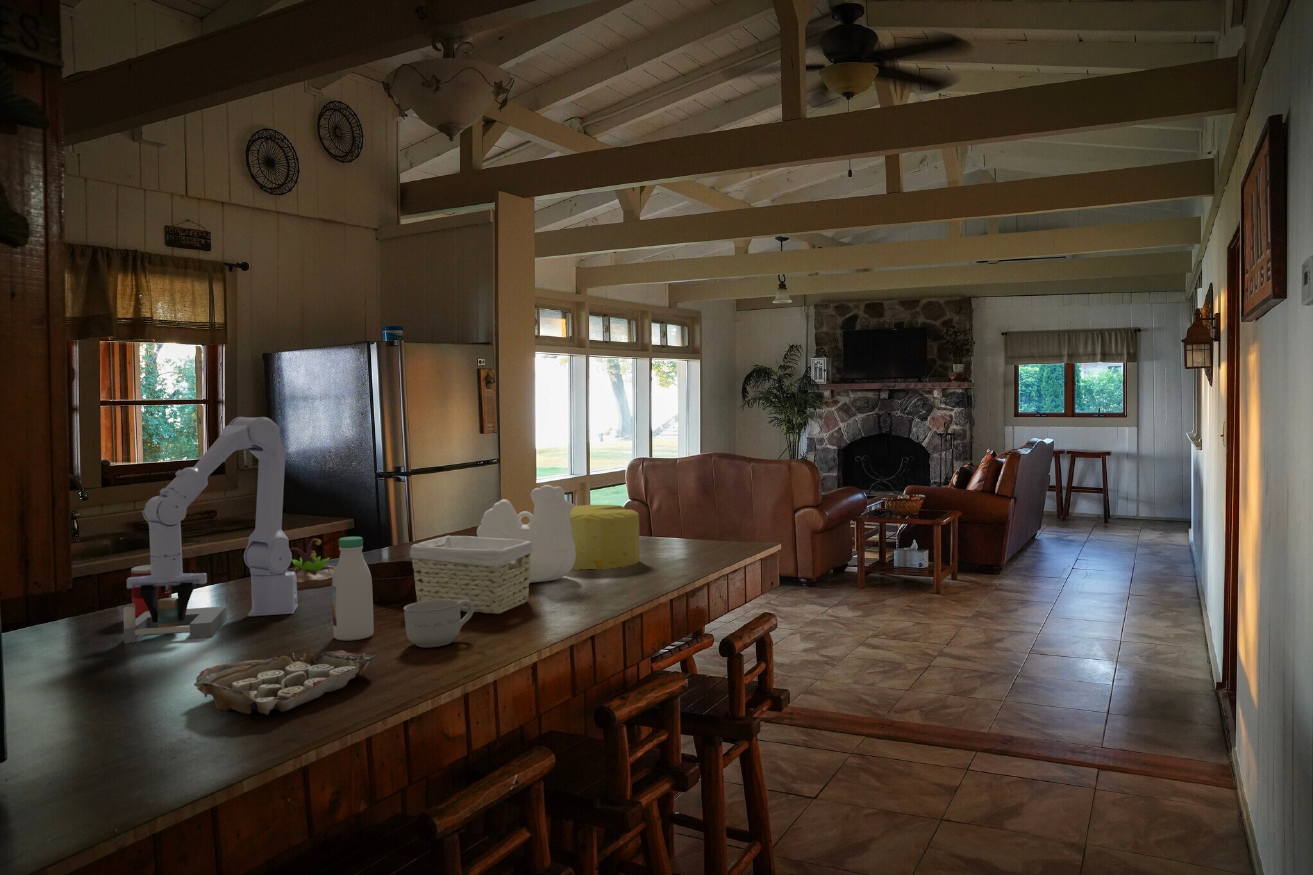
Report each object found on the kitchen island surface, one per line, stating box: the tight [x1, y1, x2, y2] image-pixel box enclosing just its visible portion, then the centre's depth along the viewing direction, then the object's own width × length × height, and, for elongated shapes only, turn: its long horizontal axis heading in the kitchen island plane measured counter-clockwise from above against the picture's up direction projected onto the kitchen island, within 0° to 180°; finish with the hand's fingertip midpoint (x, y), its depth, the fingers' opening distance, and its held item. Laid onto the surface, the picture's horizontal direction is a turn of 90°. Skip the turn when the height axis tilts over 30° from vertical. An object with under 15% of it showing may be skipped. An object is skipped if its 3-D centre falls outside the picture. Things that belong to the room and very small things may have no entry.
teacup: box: [403, 599, 475, 649], centre depth 183 cm, size 14×11×8 cm
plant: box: [287, 538, 336, 590], centre depth 246 cm, size 20×20×11 cm
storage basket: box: [409, 535, 533, 615], centre depth 215 cm, size 24×16×15 cm
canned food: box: [130, 564, 173, 619], centre depth 209 cm, size 8×8×11 cm
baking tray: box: [193, 650, 376, 716], centre depth 155 cm, size 30×22×5 cm
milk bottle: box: [331, 536, 375, 642], centre depth 188 cm, size 8×8×20 cm
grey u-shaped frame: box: [123, 605, 228, 644], centre depth 195 cm, size 16×16×7 cm
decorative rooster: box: [476, 484, 576, 584], centre depth 242 cm, size 25×16×25 cm, turn 75°
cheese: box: [570, 504, 641, 570], centre depth 268 cm, size 26×26×15 cm
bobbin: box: [157, 597, 180, 628], centre depth 192 cm, size 4×4×6 cm
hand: (169, 620), depth 192 cm, fingers closed on bobbin, 4 cm apart
